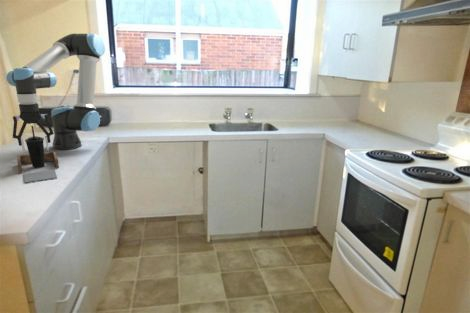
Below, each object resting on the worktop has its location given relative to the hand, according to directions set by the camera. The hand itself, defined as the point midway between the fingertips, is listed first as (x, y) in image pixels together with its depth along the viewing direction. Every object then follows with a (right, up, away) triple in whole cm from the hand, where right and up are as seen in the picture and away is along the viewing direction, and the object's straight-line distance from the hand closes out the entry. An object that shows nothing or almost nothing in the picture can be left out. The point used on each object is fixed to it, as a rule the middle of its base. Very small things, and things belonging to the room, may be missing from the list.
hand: (36, 150), depth 154 cm
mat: (+8, -12, -11) cm, 18 cm away
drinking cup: (0, -8, +2) cm, 8 cm away
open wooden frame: (0, -8, +2) cm, 8 cm away
